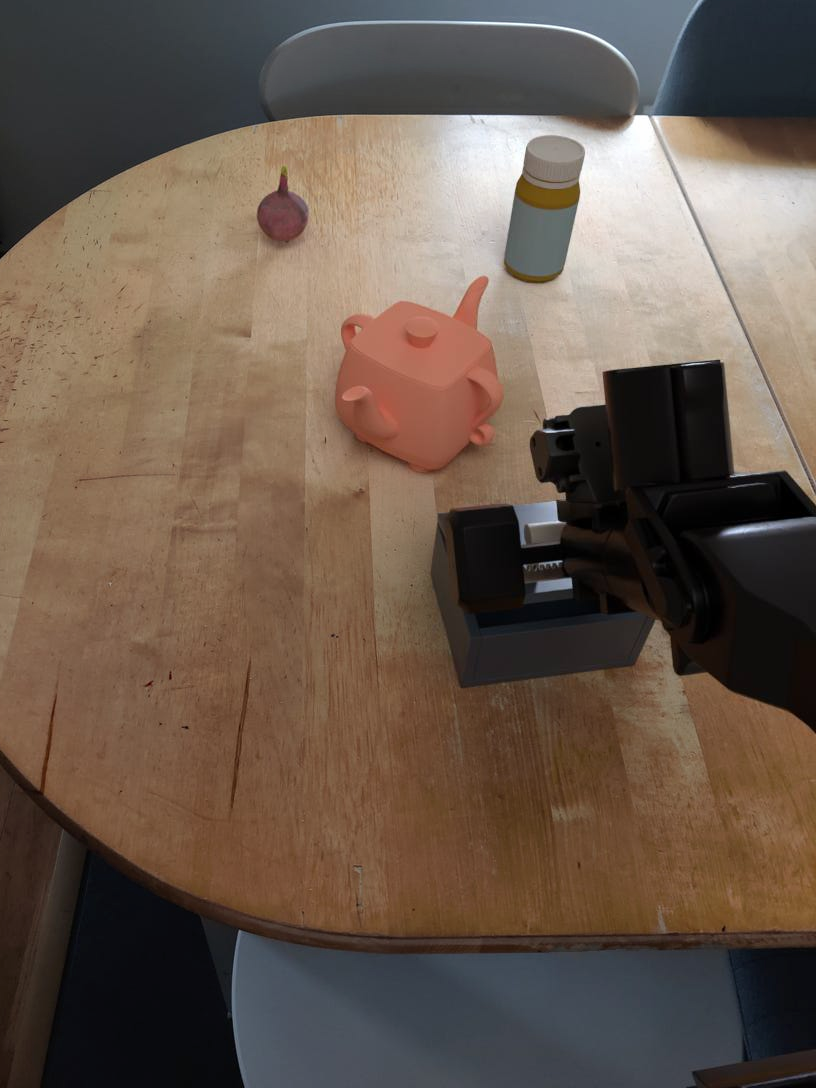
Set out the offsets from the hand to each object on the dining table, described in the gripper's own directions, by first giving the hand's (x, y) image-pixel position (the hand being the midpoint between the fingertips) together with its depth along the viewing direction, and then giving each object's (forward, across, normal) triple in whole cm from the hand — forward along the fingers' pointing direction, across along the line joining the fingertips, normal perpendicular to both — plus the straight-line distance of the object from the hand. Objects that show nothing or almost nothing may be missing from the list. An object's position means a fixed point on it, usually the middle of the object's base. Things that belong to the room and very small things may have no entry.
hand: (552, 530), depth 63 cm
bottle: (+41, -15, -25) cm, 50 cm away
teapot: (+24, +5, -8) cm, 25 cm away
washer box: (+8, 0, +8) cm, 11 cm away
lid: (+1, 0, +2) cm, 2 cm away
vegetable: (+48, +14, -32) cm, 59 cm away
